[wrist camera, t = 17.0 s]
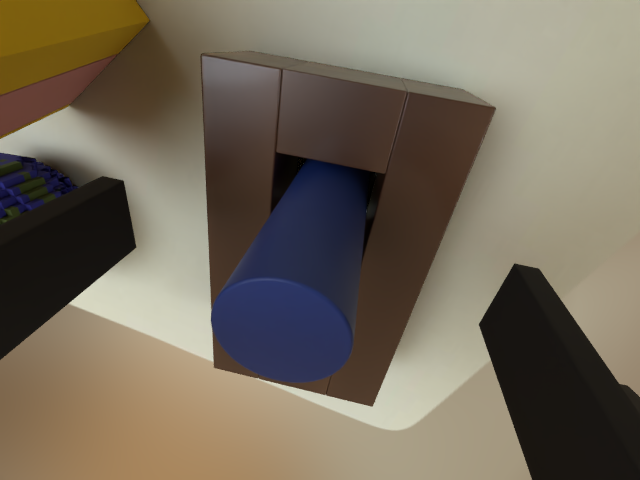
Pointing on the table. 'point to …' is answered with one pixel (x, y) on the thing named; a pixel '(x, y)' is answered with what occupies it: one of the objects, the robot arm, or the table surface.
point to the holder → (347, 150)
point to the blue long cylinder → (299, 280)
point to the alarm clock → (57, 52)
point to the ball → (27, 185)
